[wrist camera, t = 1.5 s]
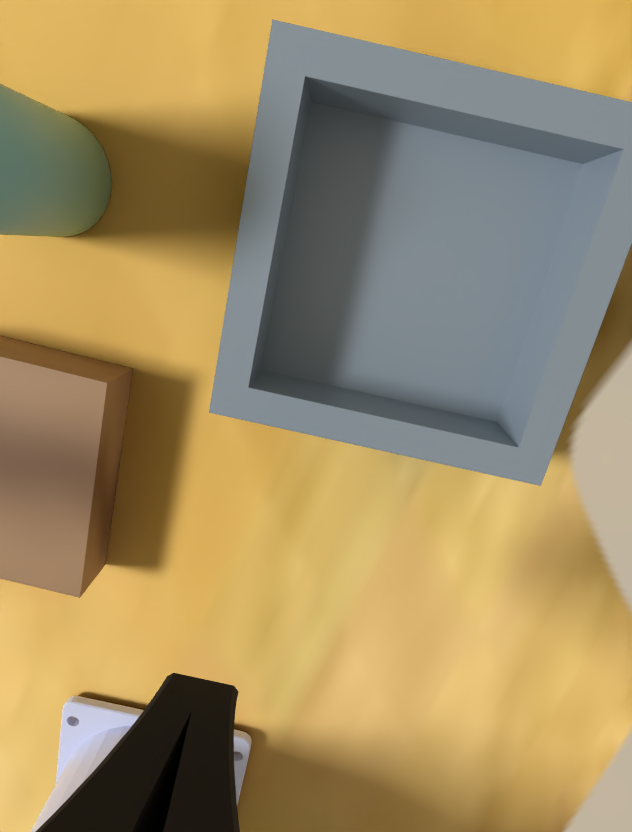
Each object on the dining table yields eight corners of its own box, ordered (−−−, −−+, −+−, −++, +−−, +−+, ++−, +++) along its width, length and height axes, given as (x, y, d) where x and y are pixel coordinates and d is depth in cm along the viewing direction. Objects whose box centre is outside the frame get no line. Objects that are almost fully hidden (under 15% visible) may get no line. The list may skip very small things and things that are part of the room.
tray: (511, 450, 19) (540, 485, 16) (229, 388, 19) (209, 412, 16) (621, 137, 16) (680, 113, 13) (285, 60, 16) (272, 19, 13)
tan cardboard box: (109, 558, 21) (80, 597, 19) (-40, 522, 21) (-88, 557, 19) (137, 366, 19) (107, 382, 17) (-31, 324, 19) (-85, 335, 17)
